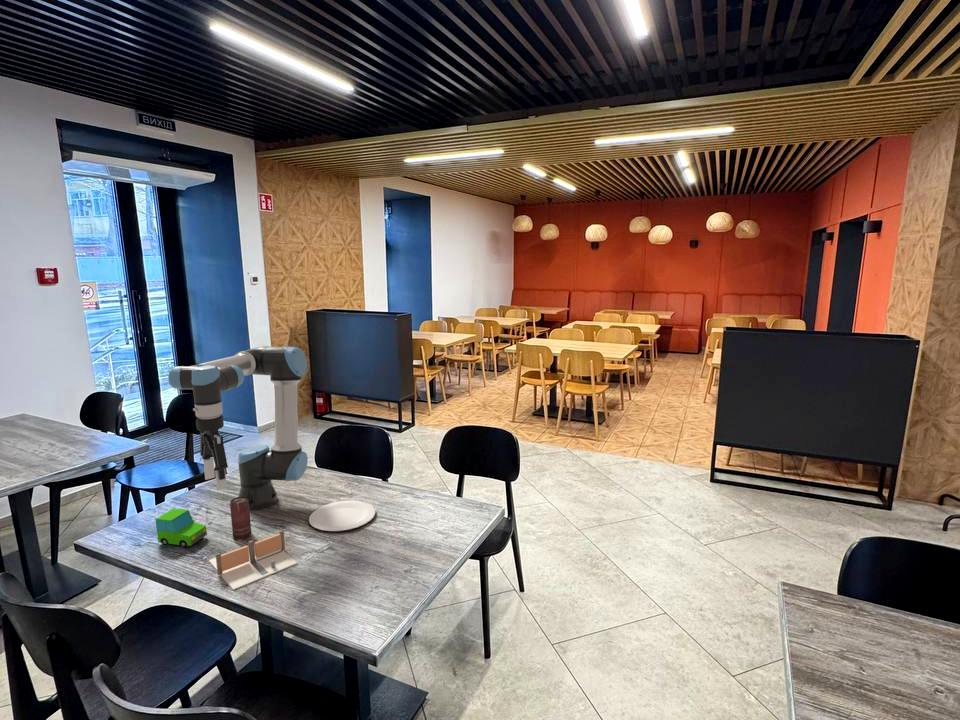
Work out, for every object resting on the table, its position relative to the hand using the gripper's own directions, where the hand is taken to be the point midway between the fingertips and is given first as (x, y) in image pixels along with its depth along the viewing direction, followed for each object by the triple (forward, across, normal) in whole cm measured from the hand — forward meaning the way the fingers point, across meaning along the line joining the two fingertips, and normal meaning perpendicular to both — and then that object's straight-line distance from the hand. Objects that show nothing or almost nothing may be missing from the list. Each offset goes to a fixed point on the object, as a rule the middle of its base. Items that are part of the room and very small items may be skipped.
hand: (215, 483), depth 162 cm
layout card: (+28, +6, +7) cm, 29 cm away
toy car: (+28, -25, -5) cm, 38 cm away
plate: (+28, -1, +44) cm, 52 cm away
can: (+28, -14, +11) cm, 33 cm away
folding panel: (+27, +6, +1) cm, 28 cm away
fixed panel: (+27, +6, +12) cm, 31 cm away
